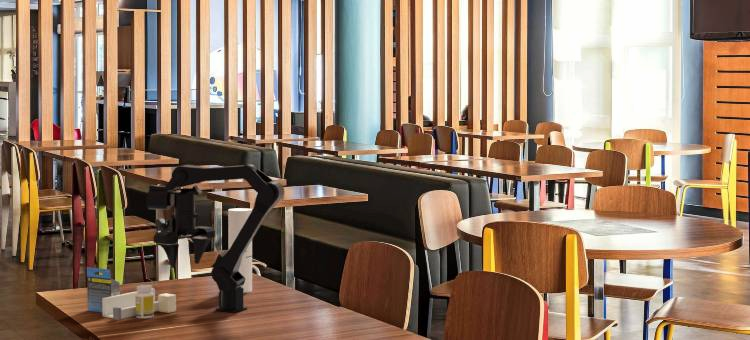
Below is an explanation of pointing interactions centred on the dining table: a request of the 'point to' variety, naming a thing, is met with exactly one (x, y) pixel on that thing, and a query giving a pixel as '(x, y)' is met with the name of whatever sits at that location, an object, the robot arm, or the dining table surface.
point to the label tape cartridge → (100, 288)
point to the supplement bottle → (144, 302)
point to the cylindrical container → (235, 224)
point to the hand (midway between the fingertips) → (185, 265)
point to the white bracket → (134, 305)
